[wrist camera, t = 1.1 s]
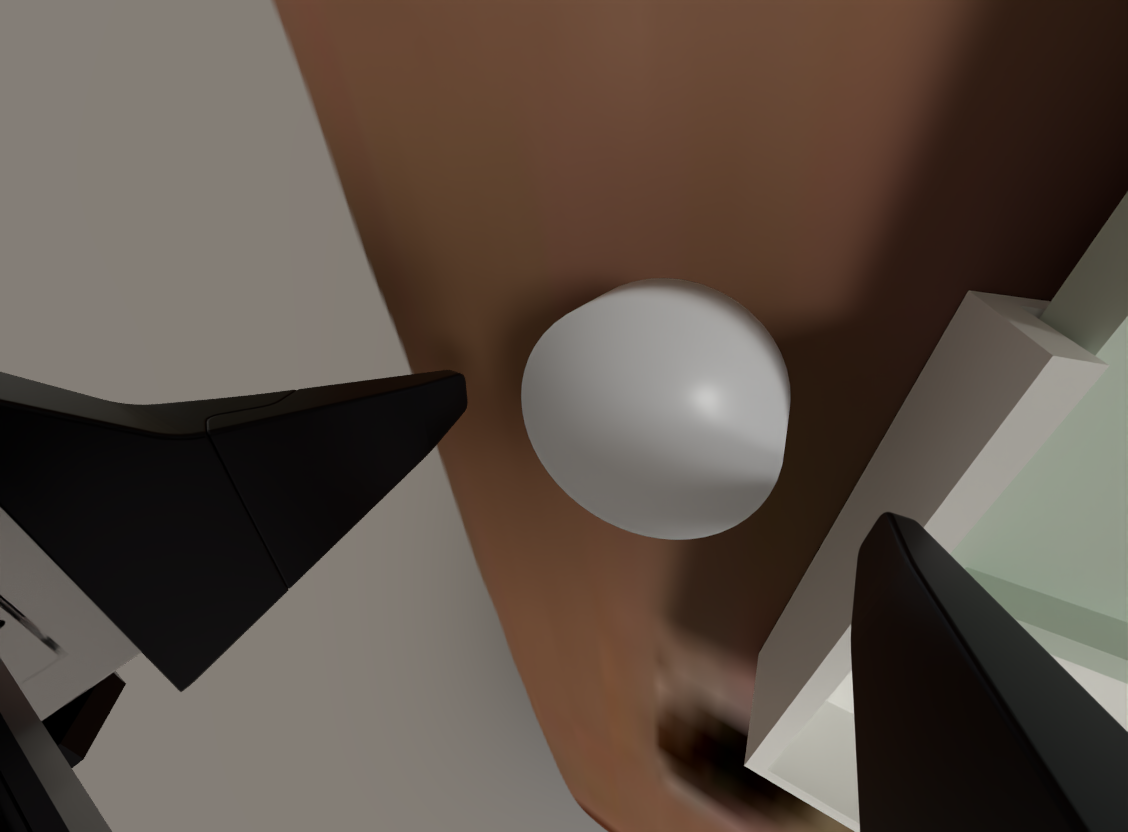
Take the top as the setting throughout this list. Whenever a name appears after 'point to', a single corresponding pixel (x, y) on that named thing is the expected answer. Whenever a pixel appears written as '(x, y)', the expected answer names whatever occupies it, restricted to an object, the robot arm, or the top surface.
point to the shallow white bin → (939, 504)
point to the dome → (660, 408)
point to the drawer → (1072, 487)
